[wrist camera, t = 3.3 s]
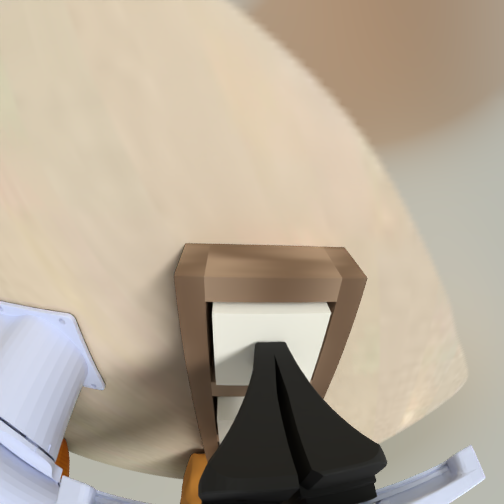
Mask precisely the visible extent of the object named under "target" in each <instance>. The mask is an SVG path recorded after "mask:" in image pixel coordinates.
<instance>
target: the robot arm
mask: <svg viewBox="0 0 504 504" xmlns="http://www.w3.org/2000/svg"><path fill="white" fill-rule="evenodd" d="M82 386H85V387H89V388H93V389H98V390H104V388H105V384H104V382H103V380H102V378H101V376H100V374H99V372H98V370H97V368H96V366H95V364H94V362H93V360H92V357H91V355H90V353H89V351H88V349H87V346H86V344H85V342H84V339H83V337H82V334H81V332H80V330H79V327H78V325H77V322H76V320H75V318H74V317H73V316H72V315H71V314H69V313H63V312H56V311H50V310H44V309H38V308H33V307H27V306H22V305H17V304H12V303H8V302H3V301H0V504H150V503H145V502H140V501H136V500H131V499H127V498H123V497H119V496H115V495H111V494H108V493H104V492H102V491H98V490H96V489H95V488H93V487H92V486H90V485H88V484H85V483H83V482H80V481H77V480H75V479H72V478H69V477H67V476H65V475H64V476H62V479H61V475H62V471H63V469H62V468H60V467H59V466H58V465H56V464H55V463H54V462H56V459H57V456H58V453H59V450H60V446H61V443H62V440H63V437H64V434H65V431H66V428H67V425H68V423H69V420H70V417H71V414H72V412H73V409H74V406H75V404H76V401H77V399H78V396H79V393H80V391H81V389H82ZM386 464H387V460H386V457H385V455H384V452H383V451H382V449H381V447H380V445H379V444H377V443H375V442H374V441H372V440H370V439H369V438H367V437H366V436H364V435H363V434H361V433H360V432H359V431H357V430H356V429H355V428H353V427H352V426H351V425H350V424H348V423H347V422H346V421H345V420H344V419H343V418H341V417H340V416H339V415H338V414H337V413H336V412H335V411H334V410H333V409H332V408H331V407H330V406H329V405H328V404H327V403H326V402H325V401H324V400H323V398H322V397H321V396H320V395H319V394H318V392H317V391H316V390H315V389H314V387H313V386H312V385H311V383H310V382H309V381H308V379H307V378H306V376H305V375H304V373H303V372H302V370H301V369H300V367H299V366H298V364H297V362H296V361H295V359H294V357H293V355H292V354H291V352H290V350H289V348H288V346H287V344H286V343H285V342H257V343H256V344H255V350H254V361H253V371H252V375H251V379H250V382H249V385H248V388H247V391H246V394H245V397H244V399H243V402H242V404H241V407H240V409H239V411H238V413H237V415H236V417H235V419H234V421H233V423H232V425H231V427H230V429H229V431H228V432H227V434H226V436H225V437H224V439H223V441H222V442H221V444H220V445H219V447H218V448H217V450H216V451H215V453H214V454H213V455H212V457H211V458H210V459H209V461H208V463H207V465H206V467H205V469H204V471H203V473H202V475H201V478H200V480H199V484H198V496H199V498H200V499H201V501H202V504H374V503H375V504H449V503H450V502H452V501H454V500H455V499H457V498H458V497H459V496H461V495H463V494H464V493H465V492H467V491H468V490H470V489H471V488H473V487H474V486H475V485H477V484H478V483H480V482H481V481H483V480H484V479H485V475H484V472H483V470H482V468H481V465H480V463H479V461H478V458H477V456H476V454H475V452H474V449H473V447H472V445H469V446H468V447H466V448H464V449H462V450H461V451H459V452H457V453H456V454H454V455H453V456H451V457H450V458H449V459H447V461H445V462H443V463H441V464H439V465H437V466H435V467H433V468H431V469H428V470H426V471H424V472H422V473H420V474H417V475H415V476H412V477H410V478H408V479H405V480H403V481H400V482H398V483H395V484H392V485H389V486H386V487H383V488H380V489H377V490H375V486H374V483H375V482H376V478H375V474H377V473H378V472H379V471H380V470H382V469H383V468H384V467H385V466H386Z"/></svg>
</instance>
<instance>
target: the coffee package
mask: <svg viewBox="0 0 504 504" xmlns="http://www.w3.org/2000/svg"><path fill="white" fill-rule="evenodd" d="M207 463H208V462H207V459H206V455H205V454H197V453H194V454H192V455H191V456H190V459H189V462H188V465H187V468H186V471H185V474H184V479H183V485H182V495H181V502H180V504H202V501H201V499H200V498H199V496H198V484H199V480H200V478H201V475H202V473H203V471H204V469H205V467H206V465H207Z"/></svg>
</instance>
